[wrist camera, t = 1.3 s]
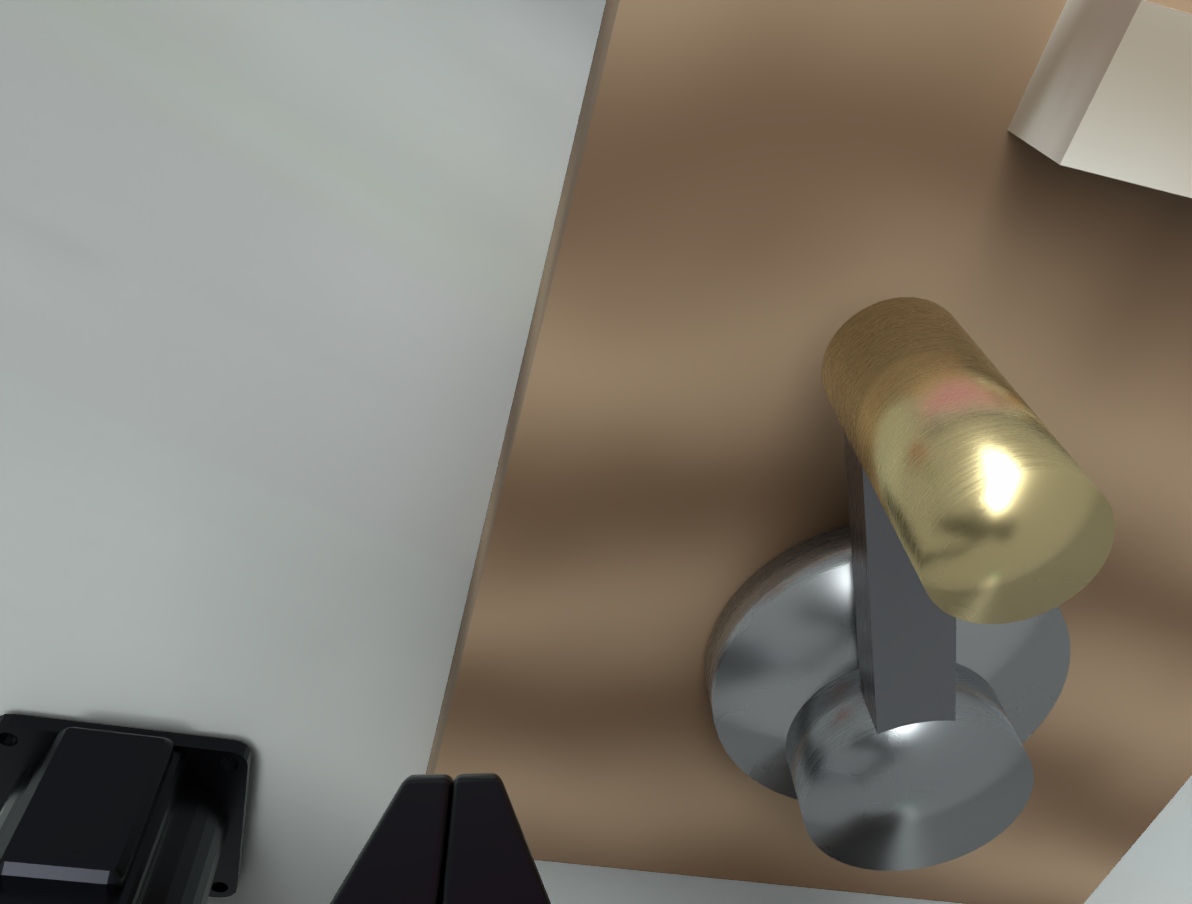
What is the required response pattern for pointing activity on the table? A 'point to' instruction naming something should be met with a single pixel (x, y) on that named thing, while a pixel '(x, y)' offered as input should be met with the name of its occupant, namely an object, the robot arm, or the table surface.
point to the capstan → (913, 605)
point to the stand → (806, 418)
